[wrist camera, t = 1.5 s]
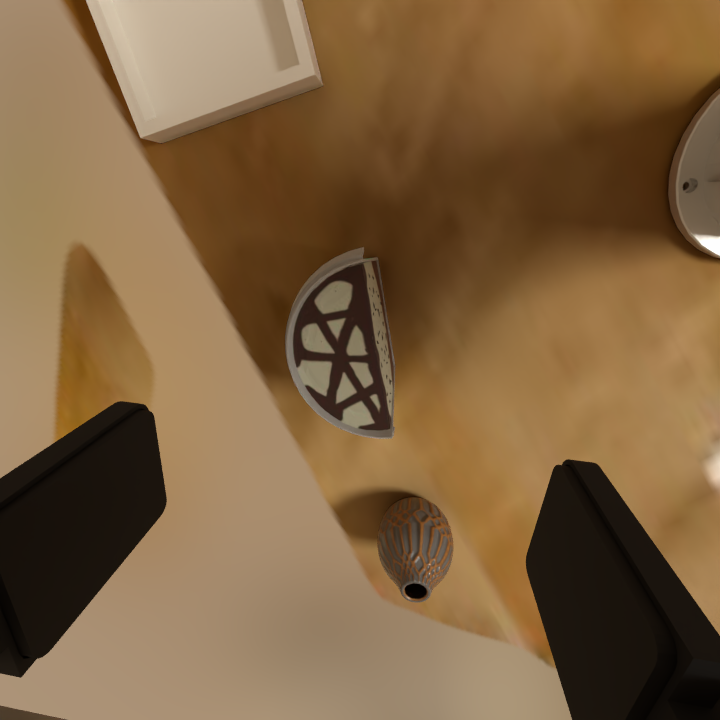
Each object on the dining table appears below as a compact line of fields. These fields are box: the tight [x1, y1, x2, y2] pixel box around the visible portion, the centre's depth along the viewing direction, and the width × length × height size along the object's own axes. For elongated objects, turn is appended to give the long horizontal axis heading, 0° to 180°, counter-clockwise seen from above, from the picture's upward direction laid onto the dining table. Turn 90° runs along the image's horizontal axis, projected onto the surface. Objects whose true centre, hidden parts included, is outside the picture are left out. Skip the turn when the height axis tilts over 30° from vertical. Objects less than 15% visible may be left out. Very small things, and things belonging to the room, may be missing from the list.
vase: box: [377, 497, 453, 602], centre depth 35 cm, size 7×7×9 cm
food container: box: [285, 247, 395, 439], centre depth 28 cm, size 12×6×10 cm, turn 10°
